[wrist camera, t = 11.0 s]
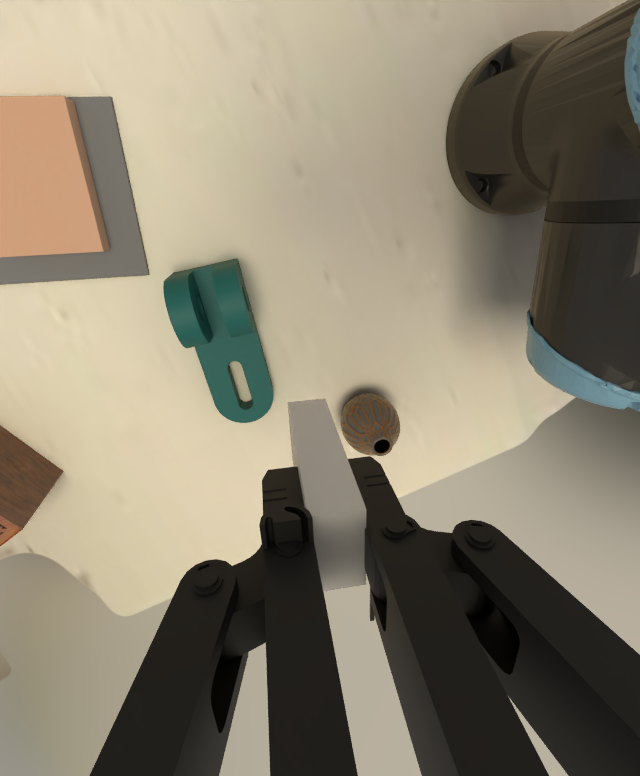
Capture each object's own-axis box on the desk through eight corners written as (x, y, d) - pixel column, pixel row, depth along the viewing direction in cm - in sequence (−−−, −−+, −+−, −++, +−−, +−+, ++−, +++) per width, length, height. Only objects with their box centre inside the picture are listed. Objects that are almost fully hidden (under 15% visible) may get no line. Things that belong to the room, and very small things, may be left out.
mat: (111, 97, 35) (110, 96, 35) (149, 274, 41) (148, 274, 41) (-79, 100, 33) (-83, 99, 33) (-10, 284, 40) (-12, 285, 39)
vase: (398, 410, 53) (424, 447, 45) (357, 442, 54) (375, 483, 46) (368, 375, 50) (389, 406, 42) (325, 409, 51) (338, 446, 43)
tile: (110, 249, 40) (74, 101, 35) (103, 251, 38) (64, 95, 33) (11, 254, 38) (-41, 103, 33) (-2, 257, 37) (-59, 97, 32)
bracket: (173, 272, 42) (157, 286, 35) (237, 258, 42) (234, 268, 35) (224, 419, 50) (220, 455, 43) (278, 406, 50) (282, 439, 43)
